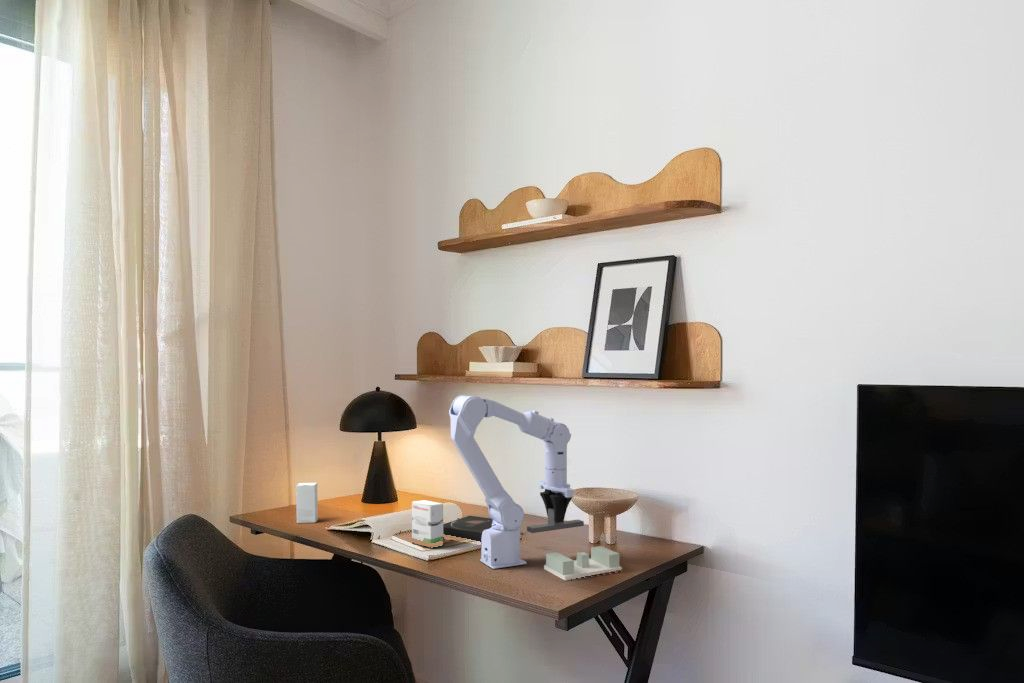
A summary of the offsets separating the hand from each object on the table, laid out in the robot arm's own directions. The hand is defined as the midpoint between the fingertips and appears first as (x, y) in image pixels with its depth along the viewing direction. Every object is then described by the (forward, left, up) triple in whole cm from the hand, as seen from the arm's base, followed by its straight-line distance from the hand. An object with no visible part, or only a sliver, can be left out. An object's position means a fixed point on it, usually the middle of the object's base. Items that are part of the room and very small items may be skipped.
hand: (555, 520), depth 179 cm
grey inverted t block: (0, 0, -2) cm, 2 cm away
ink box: (-26, +26, -10) cm, 38 cm away
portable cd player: (-10, +29, -10) cm, 32 cm away
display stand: (0, -13, -9) cm, 16 cm away
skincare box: (-51, +69, -10) cm, 86 cm away
